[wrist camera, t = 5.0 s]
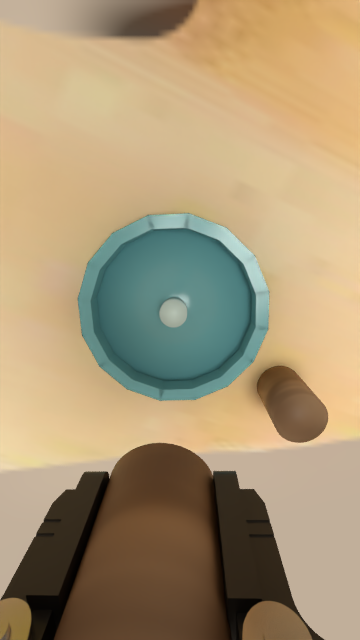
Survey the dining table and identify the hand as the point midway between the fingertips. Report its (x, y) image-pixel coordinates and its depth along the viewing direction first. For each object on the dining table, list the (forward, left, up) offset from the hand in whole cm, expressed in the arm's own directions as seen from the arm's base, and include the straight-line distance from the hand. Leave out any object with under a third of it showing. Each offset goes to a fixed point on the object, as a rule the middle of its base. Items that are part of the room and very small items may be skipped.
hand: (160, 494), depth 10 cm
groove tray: (-2, -2, -15) cm, 15 cm away
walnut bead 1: (0, 0, 0) cm, 0 cm away
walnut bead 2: (-3, +9, -15) cm, 17 cm away
